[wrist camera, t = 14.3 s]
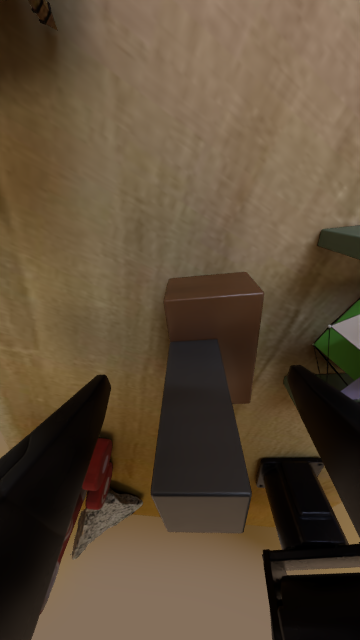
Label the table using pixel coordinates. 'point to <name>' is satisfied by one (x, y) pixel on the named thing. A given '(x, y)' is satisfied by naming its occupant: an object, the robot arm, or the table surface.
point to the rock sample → (103, 518)
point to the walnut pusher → (206, 402)
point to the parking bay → (352, 244)
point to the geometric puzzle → (344, 348)
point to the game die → (42, 12)
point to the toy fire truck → (90, 492)
